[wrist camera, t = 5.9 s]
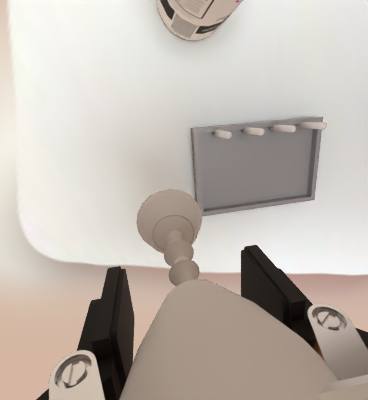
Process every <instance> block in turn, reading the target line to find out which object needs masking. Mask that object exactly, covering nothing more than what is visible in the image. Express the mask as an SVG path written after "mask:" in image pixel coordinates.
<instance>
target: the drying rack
mask: <svg viewBox="0 0 368 400" xmlns="http://www.w3.org/2000/svg"><path fill="white" fill-rule="evenodd" d="M322 121H323V117H310V118H299V119H288V120H277V121H266V122H255V123H244V124H233V125H222V126H211V127H200V128H191V135H192V150H193V165H194V180H195V195H196V202H197V203H198V205H199V207H200V209H201V215H202V216H207V215H214V214H221V213H228V212H234V211H241V210H248V209H255V208H262V207H269V206H276V205H282V204H289V203H296V202H303V201H310V200H314V198H315V188H316V179H317V169H318V160H319V150H320V140H321V131H322V129H325V128H326V123H325V122H322Z"/></svg>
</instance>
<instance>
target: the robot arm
mask: <svg viewBox="0 0 368 400" xmlns="http://www.w3.org/2000/svg"><path fill="white" fill-rule="evenodd" d="M241 296H242V297H244V298H246V299H248V300H250V301H252V302H254V303H255V304H257V305H258V306H259V307H261V308H262V309H263V310H265V311H266V312H268V313H269V314H270V315H272V316H273V317H274V318H276V319H277V320H278V321H280V322H281V323H283V324H284V325H285V326H287V327H288V328H289V329H291V330H292V331H293V332H295V333H296V334H298V335H299V336H300V337H302V338H303V339H304V340H305V341H306V342H307V343H308V344H309V345H310V346H311V347H312V348H313V349H314V350H315V351H316V352H317V353H318V354H319V355H320V356H321V358H322V359H323V360H324V362H325V363H326V364H327V366H328V367H329V368H330V370H331V371H332V372H333V374H334V375H335V376H336V378H337V379H338V380H339V381H336V382H332V383H330V384H329V385H327V386H326V387H325V388H323V389H322V390H321V391H320V392H319V393H318V395H319V397H320V399H321V400H368V332H365V331H362V330H360V329H357V328H355V327H354V325H353V323H352V321H351V320H350V318H349V317H348V316H347V315H346V314H345V313H344V312H343V311H341V310H340V309H338V308H336V307H333V306H331V305H327V304H315V305H313V304H312V303H311V302H310V301H309V300H308V299H307V298H306V296H305V295H304V294H303V293H302V292H301V291H300V290H299V289H298V288H297V287H296V285H295V284H294V283H293V282H292V281H291V280H290V279H289V278H288V277H287V276H286V274H285V273H284V272H283V271H282V270H281V269H279V268H277V267H276V266H275V265H274V264H273V263H272V262H271V261H270V259H269V258H268V257H267V256H266V255H265V254H264V253H263V252H262V250H261V249H260V248H259V247H258V246H257V245H252V246H246V247H245V248H244V250H242V251H241ZM133 337H134V312H133V307H132V302H131V296H130V291H129V285H128V280H127V275H126V270H125V269H121V267H120V266H119V267H112V268H108V270H107V274H106V279H105V283H104V287H103V292H102V297H101V299H96V300H92V301H91V303H90V306H89V310H88V313H87V316H86V320H85V324H84V327H83V331H82V335H81V338H80V342H79V345H78V349H77V351H76V352H73V353H71V354H69V355H67V356H66V357H64V358H63V359H62V360H61V361H59V363H58V364H57V365H56V366H55V367H54V369H53V371H52V373H51V375H50V379H49V389H48V390H47V391H45V392H44V393H43V394H42V395H41V396H40V397H39V398H38V399H37V400H119V399H120V397H121V394H122V391H123V388H124V386H125V383H126V380H127V378H128V375H129V372H130V369H131V367H132V364H133V340H134V339H133Z"/></svg>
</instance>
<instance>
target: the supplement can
mask: <svg viewBox="0 0 368 400" xmlns="http://www.w3.org/2000/svg"><path fill="white" fill-rule="evenodd" d="M242 1H243V0H157V6H158V11H159V13H160V15H161V17H162V19H163V21H164V23H165V25H166V26H167V27H168V28H169V29H170V30H171V31H172V32H173V33H174V34H175V35H177V36H179V37H181V38H183V39H185V40H195V41H198V40H201V39H204V38H207V37H209V36H210V35H211V34H212V33H213V32H215V31H216V30H217V29H218V28H219V27H220V26H221V25H222V23H223V22H224V21H225V20H226V19H227V18H228V17H229V16H230V14H231V13H232V12H233V11H234V10H235V9H236V8H237V7H238V5H239V4H240V3H241V2H242Z"/></svg>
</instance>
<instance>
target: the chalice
mask: <svg viewBox="0 0 368 400" xmlns="http://www.w3.org/2000/svg"><path fill="white" fill-rule="evenodd" d="M201 222H202V215H201V209H200V207H199V205H198V203H197V202H196V201H195V200H194V199H193V198H192V197H191V196H190V195H189V194H187V193H184V192H182V191H179V190H171V189H169V190H164V191H159V192H157V193H155V194H153V195H151V196H150V197H149V198H148V199H147V200H146V201H145V202H144V203H143V204H142V206H141V208H140V210H139V212H138V216H137V227H138V232H139V234H140V235H141V237H142V238H143V240H144V241H145V242H147V243H148V244H149V245H150V246H152V247H153V248H154V249H155V250H157V251H159V252H161V253H164V258H165V261H166V263H167V264H168V265H169V266H172V267H171V269H170V272H169V279H170V281H171V283H172V284H174V285H175V286H176V287H175V288H174V289H173V290H172V291H171V292H170V293H169V294H168V295H167V297H166V298H165V300H164V302H163V304H162V306H161V307H160V309H159V311H158V313H157V315H156V317H155V319H154V320H153V322H152V324H151V326H150V328H149V330H148V332H147V333H146V335H145V337H144V339H143V341H142V343H141V345H140V346H139V349H138V351H137V353H136V356H135V359H134V361H133V364H132V367H131V369H130V372H129V375H128V378H127V380H126V383H125V386H124V388H123V391H122V394H121V397H120V399H119V400H321V399H320V397H319V395H318V393H319V392H320V391H321V390H322V389H323V388H325V387H326V386H327V385H329V384H330V383H332V382H336V381H339V380H338V379H337V378H336V376H335V375H334V374H333V372H332V371H331V370H330V368H329V367H328V366H327V364H326V363H325V362H324V360H323V359H322V358H321V356H320V355H319V354H318V353H317V352H316V351H315V350H314V349H313V348H312V347H311V346H310V345H309V344H308V343H307V342H306V341H305V340H304V339H303V338H302V337H300V336H299V335H298V334H296V333H295V332H293V331H292V330H291V329H289V328H288V327H287V326H285V325H284V324H283V323H281V322H280V321H278V320H277V319H276V318H274V317H273V316H272V315H270V314H269V313H268V312H266V311H265V310H263V309H262V308H261V307H259V306H258V305H257V304H255V303H254V302H252V301H250V300H248V299H246V298H244V297H242V296H240V295H238V294H236V293H233V292H231V291H229V290H227V289H225V288H223V287H221V286H219V285H217V284H215V283H213V282H211V281H208V280H202V279H197V278H198V276H199V267H198V265H197V264H196V263H195V262H194V261H191V259H192V258H193V254H194V252H193V248H192V246H191V245H192V244H193V243H194V241H195V239H196V238H197V235H198V232H199V230H200V227H201Z"/></svg>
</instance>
